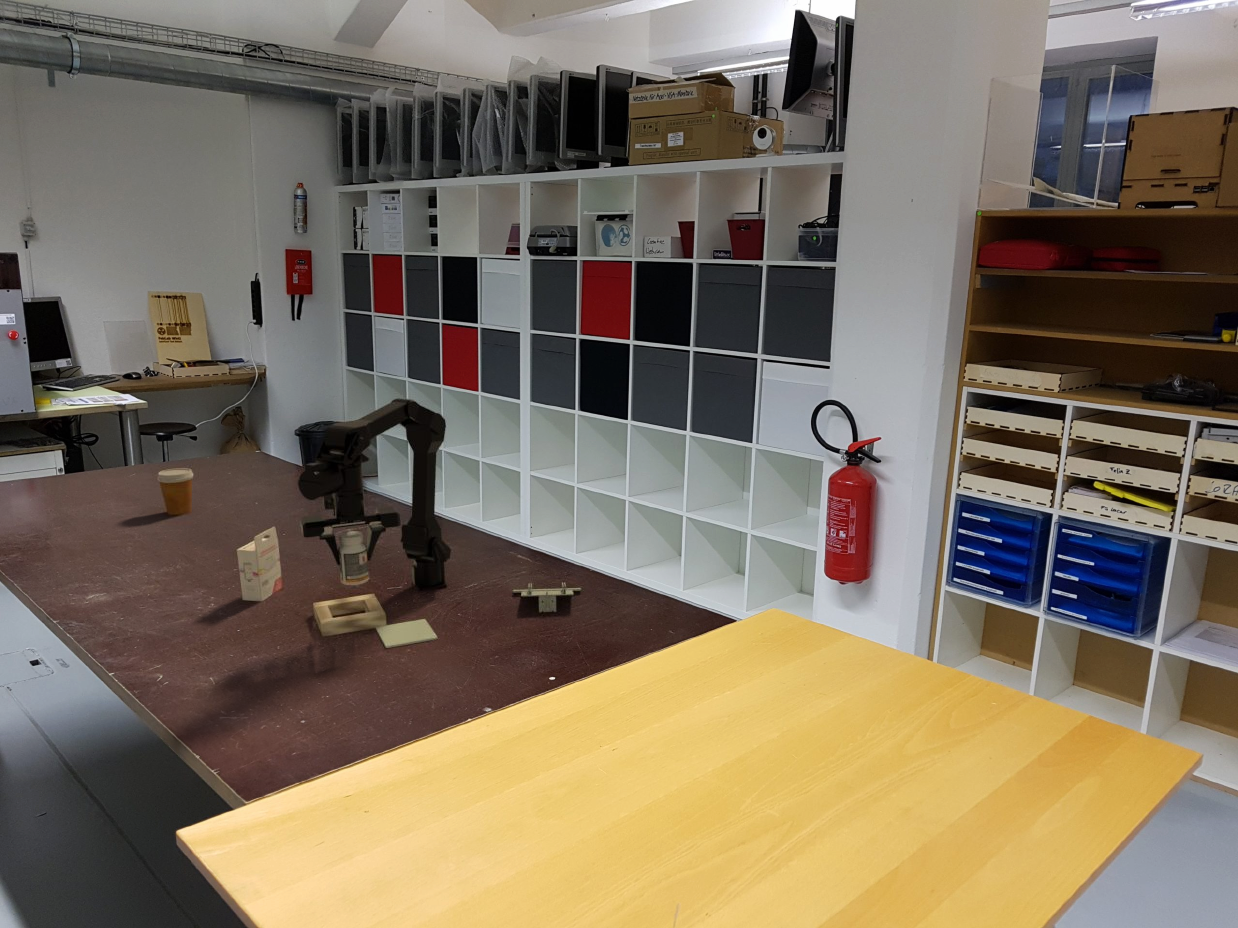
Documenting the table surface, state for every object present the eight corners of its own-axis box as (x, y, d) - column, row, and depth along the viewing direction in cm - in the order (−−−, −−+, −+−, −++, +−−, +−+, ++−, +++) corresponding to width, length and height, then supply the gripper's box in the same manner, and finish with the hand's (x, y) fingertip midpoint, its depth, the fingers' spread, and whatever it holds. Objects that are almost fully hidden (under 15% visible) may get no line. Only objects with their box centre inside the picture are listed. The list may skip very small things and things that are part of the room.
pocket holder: (374, 604, 200) (373, 593, 199) (386, 625, 189) (385, 614, 188) (313, 614, 195) (313, 602, 194) (322, 636, 184) (321, 624, 183)
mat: (425, 620, 191) (425, 618, 191) (437, 638, 182) (437, 637, 182) (375, 628, 187) (375, 627, 187) (386, 648, 178) (386, 646, 178)
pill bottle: (375, 578, 190) (372, 531, 188) (358, 587, 185) (354, 540, 183) (351, 574, 192) (348, 528, 190) (334, 584, 187) (330, 537, 185)
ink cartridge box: (263, 586, 210) (257, 524, 207) (283, 588, 209) (277, 525, 206) (240, 600, 202) (234, 535, 199) (261, 602, 201) (255, 537, 198)
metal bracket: (582, 585, 196) (511, 587, 194) (583, 613, 195) (511, 615, 194) (580, 580, 210) (513, 582, 209) (580, 606, 210) (513, 608, 208)
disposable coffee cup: (204, 510, 269) (200, 470, 266) (173, 518, 261) (169, 477, 258) (184, 505, 274) (180, 466, 271) (154, 513, 266) (149, 472, 263)
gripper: (388, 473, 195) (392, 544, 198) (294, 483, 187) (300, 556, 191) (398, 486, 185) (403, 560, 189) (300, 496, 177) (306, 573, 181)
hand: (353, 562), depth 188 cm, fingers closed on pill bottle, 6 cm apart
